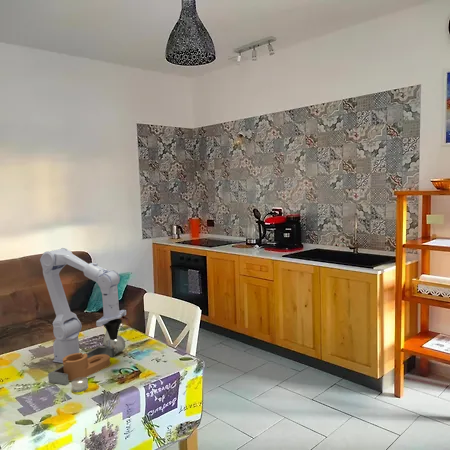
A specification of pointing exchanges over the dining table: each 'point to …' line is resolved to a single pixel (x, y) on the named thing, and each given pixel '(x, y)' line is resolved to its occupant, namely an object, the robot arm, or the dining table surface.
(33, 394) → the dining table surface
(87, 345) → the dining table surface
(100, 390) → the dining table surface
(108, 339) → the flask
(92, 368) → the bracket
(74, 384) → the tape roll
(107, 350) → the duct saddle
